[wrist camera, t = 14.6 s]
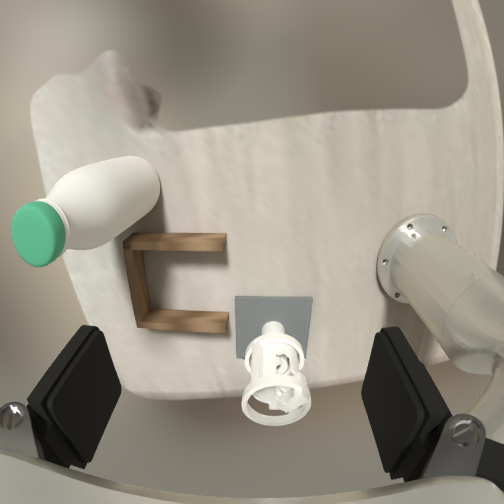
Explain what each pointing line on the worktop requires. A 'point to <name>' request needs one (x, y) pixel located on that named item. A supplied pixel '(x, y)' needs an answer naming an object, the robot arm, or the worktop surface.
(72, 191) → the milk bottle
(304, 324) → the trivet
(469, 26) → the worktop surface
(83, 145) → the worktop surface
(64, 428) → the robot arm
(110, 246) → the worktop surface
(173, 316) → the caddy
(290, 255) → the worktop surface
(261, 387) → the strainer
